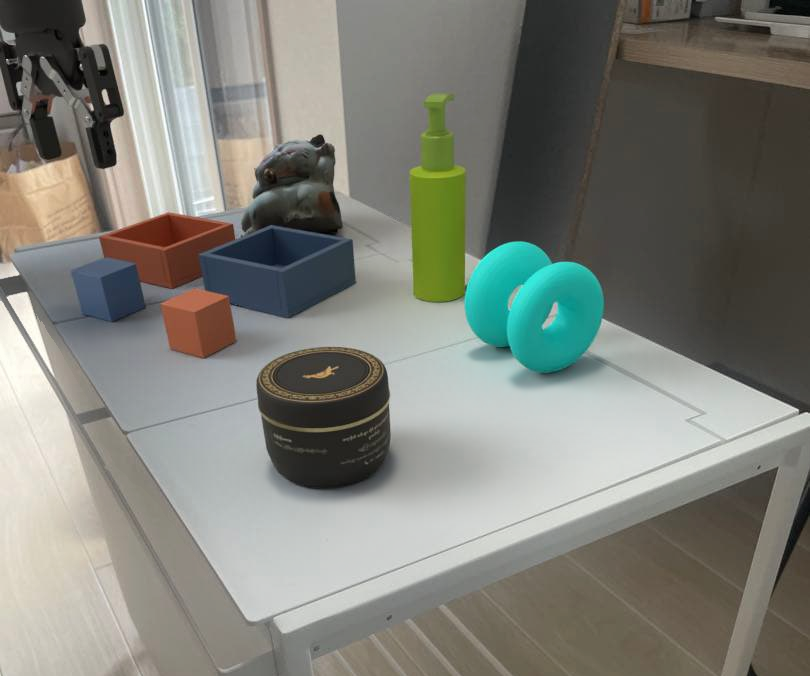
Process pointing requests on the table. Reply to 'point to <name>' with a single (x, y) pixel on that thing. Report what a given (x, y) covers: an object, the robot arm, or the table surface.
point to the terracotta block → (198, 322)
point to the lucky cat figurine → (295, 189)
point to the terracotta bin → (167, 246)
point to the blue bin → (279, 269)
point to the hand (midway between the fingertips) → (78, 162)
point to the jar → (325, 415)
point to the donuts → (534, 306)
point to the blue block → (108, 288)
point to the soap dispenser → (438, 211)
